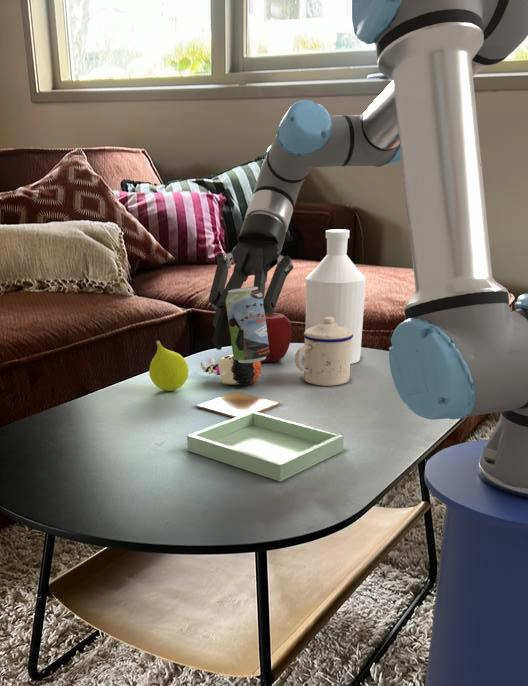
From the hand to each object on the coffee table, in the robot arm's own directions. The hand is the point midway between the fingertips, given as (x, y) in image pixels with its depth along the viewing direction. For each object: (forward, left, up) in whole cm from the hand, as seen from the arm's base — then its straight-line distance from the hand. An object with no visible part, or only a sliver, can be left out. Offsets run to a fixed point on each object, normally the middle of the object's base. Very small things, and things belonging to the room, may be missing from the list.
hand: (228, 346), depth 123 cm
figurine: (+12, -14, -11) cm, 22 cm away
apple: (+16, -30, -11) cm, 36 cm away
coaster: (+1, -4, -11) cm, 12 cm away
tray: (-16, +9, -11) cm, 22 cm away
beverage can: (-1, -4, -3) cm, 5 cm away
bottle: (+7, -40, -11) cm, 42 cm away
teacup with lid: (-1, -25, -11) cm, 27 cm away
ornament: (+17, -3, -11) cm, 21 cm away
